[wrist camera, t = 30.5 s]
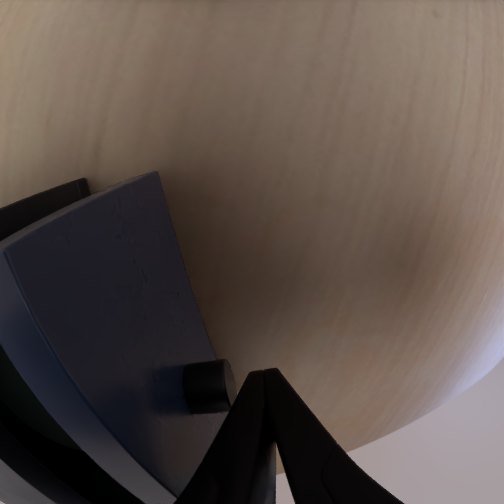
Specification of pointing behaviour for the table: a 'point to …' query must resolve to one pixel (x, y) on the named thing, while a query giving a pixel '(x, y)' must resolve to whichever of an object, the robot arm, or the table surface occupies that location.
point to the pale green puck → (28, 404)
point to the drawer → (112, 346)
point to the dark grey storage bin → (3, 442)
